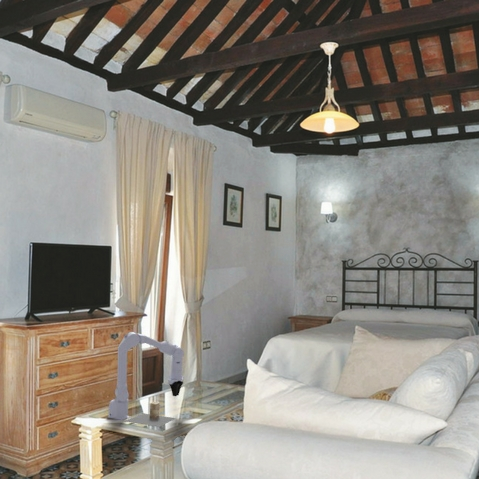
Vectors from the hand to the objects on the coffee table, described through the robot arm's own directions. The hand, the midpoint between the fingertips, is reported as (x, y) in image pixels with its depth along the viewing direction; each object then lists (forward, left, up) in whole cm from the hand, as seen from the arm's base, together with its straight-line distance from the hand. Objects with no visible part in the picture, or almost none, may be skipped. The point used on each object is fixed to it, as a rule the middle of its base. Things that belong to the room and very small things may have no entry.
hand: (175, 395), depth 302 cm
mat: (-6, -15, -10) cm, 19 cm away
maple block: (-7, -10, -10) cm, 15 cm away
